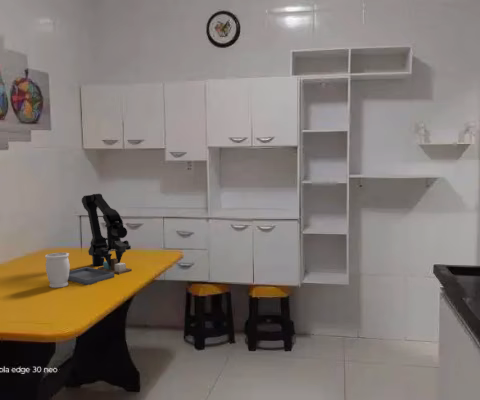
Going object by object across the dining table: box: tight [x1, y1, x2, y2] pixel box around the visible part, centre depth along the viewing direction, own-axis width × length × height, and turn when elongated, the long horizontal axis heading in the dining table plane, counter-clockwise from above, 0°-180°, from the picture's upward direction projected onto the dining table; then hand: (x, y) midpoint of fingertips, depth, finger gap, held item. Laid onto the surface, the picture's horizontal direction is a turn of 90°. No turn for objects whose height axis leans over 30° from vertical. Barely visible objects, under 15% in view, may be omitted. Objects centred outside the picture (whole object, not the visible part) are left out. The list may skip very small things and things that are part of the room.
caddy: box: [97, 257, 133, 275], centre depth 261 cm, size 18×8×7 cm, turn 52°
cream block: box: [114, 262, 127, 272], centre depth 258 cm, size 4×4×4 cm
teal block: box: [102, 260, 111, 270], centre depth 264 cm, size 4×4×4 cm
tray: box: [67, 266, 115, 286], centre depth 248 cm, size 23×16×2 cm
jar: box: [44, 252, 71, 289], centre depth 234 cm, size 11×10×15 cm
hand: (114, 265), depth 261 cm, fingers open, 5 cm apart
